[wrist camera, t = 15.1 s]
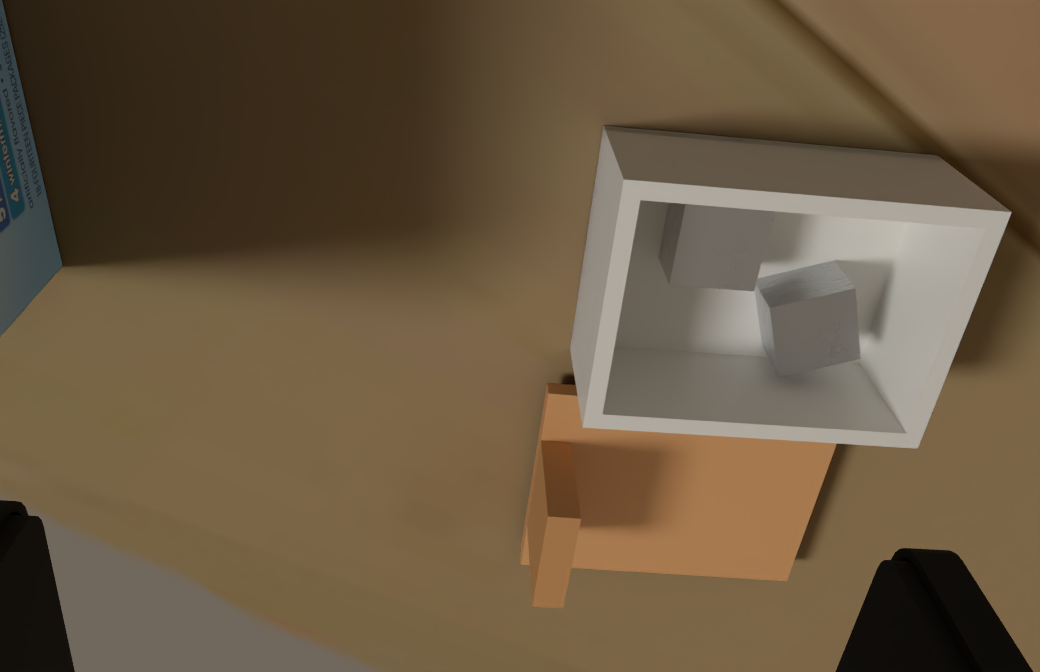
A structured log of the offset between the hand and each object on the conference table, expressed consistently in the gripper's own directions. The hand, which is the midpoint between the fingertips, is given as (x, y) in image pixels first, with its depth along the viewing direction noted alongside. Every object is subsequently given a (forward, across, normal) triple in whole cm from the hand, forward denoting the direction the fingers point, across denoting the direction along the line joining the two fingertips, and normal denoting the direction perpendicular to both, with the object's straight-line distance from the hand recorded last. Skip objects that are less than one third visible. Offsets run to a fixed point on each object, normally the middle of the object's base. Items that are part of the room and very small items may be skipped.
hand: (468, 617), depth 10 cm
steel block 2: (+32, -17, +12) cm, 39 cm away
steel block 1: (+32, -12, +8) cm, 35 cm away
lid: (+34, -13, +24) cm, 43 cm away
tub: (+33, -14, +10) cm, 37 cm away
